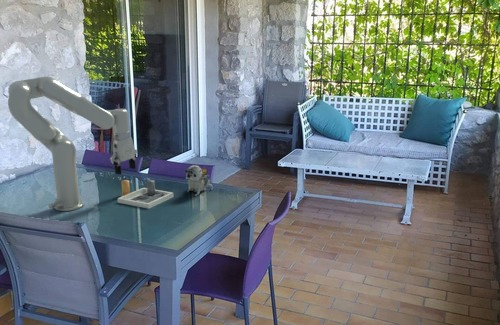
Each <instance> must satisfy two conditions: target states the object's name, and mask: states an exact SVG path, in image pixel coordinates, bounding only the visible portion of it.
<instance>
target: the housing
mask: <svg viewBox="0 0 500 325" xmlns="http://www.w3.org/2000/svg"><path fill="white" fill-rule="evenodd" d="M155 194H156V195H155V196H153V197H151V196H147V187H141V188H139V189H137V190H134V191H132V192H130V193H129V194H127V195H125V196H120V197H118V198H117V203H118V204H124V205H128V206H134V207H140V208H142V209H147V210H148V209H151V208H154V207H155V206H158V205H160V204H162V203H164V202H166V201H168V200H170V199H172V198H174V192H172V191H165V190H159V189H155Z"/></svg>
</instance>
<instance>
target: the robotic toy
mask: <svg viewBox="0 0 500 325" xmlns="http://www.w3.org/2000/svg"><path fill="white" fill-rule="evenodd" d="M207 168H208V167H207ZM207 168H206V166H204V167H202V168H201V167H200V166H199V165H197V164H196V165H191V166H189V167H188V168H187V167H186V168H185V170H184V173H185V175H186V176H185V180H187V184H188V190H187V191H186V192H187V193H189V192H194V193H196V194H194V196H195V197H197V196H199V195H200V193H201V192H203V191H204V190H205V189H206V188H208V187H209V188H210V190H211V191H213V190H214V186H213V184H212V183H211V182H210V174H208V172H209V170H208V169H207Z"/></svg>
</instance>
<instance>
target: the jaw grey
mask: <svg viewBox="0 0 500 325" xmlns="http://www.w3.org/2000/svg"><path fill="white" fill-rule="evenodd" d="M155 185H156V182H155V180H154V179H149V180H146V188H147V196H151V197H153V196H155V195H156V194H155V190H156V186H155Z"/></svg>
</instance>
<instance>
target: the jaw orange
mask: <svg viewBox="0 0 500 325" xmlns="http://www.w3.org/2000/svg"><path fill="white" fill-rule="evenodd" d="M120 182H121V184H120V185H121V193H122V194H121V196H120V197H122V196H125V195H127V194H129V193H131V187H130V180H128V179H123V180H121V181H120Z"/></svg>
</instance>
